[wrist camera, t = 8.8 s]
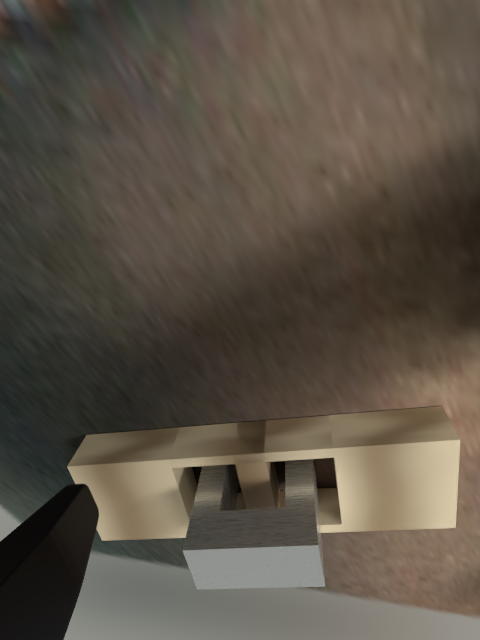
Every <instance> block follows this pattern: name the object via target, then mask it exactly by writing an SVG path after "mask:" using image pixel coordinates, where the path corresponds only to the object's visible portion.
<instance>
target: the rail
mask: <svg viewBox="0 0 480 640" xmlns="http://www.w3.org/2000/svg"><path fill="white" fill-rule="evenodd" d="M459 454H460V438H459V436H458V435H457V433H456V431H455V429H454V427H453V425H452V423H451V421H450V419H449V418H448V416H447V414H446V412H445V410H444V408H443V406H437V407H424V408H412V409H400V410H388V411H375V412H363V413H351V414H338V415H326V416H314V417H301V418H289V419H277V420H264V421H252V422H240V423H227V424H215V425H203V426H190V427H178V428H166V429H154V430H141V431H129V432H117V433H104V434H92V435H86V437H85V438H84V440H83V441H82V443H81V445H80V446H79V448H78V450H77V451H76V453H75V454H74V456H73V458H72V459H71V461H70V463H69V464H68V466H67V467H68V470H69V472H70V474H71V476H72V478H73V480H74V482H75V484H86V485H87V486H88V487H89V489H90V491H91V493H92V496H93V498H94V500H95V502H96V504H97V506H98V510H99V519H98V524H97V528H96V529H97V531H98V533H99V535H100V537H101V539H102V541H106V540H134V539H161V538H186V534H187V530H188V525H189V521H190V517H191V513H192V508H193V504H194V500H195V495H196V491H197V487H198V486H197V482H196V479H195V476H194V472H193V469H192V467H197V466H213V465H228V464H235V466H236V470H237V474H238V478H239V482H240V486H241V490H242V493H238V496H237V504H236V510H245V509H263V508H281V507H285V490H282V491H280V489H279V484H278V479H277V474H276V468H275V463H274V461H290V460H305V459H321V458H334V467H335V476H336V485H337V488H319V489H317V494H318V506H319V518H320V529H321V533H327V532H355V531H382V530H410V529H437V528H456V510H457V492H458V473H459Z"/></svg>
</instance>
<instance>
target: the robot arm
mask: <svg viewBox="0 0 480 640" xmlns="http://www.w3.org/2000/svg"><path fill="white" fill-rule="evenodd" d="M98 519H99V510H98V506H97V504H96V502H95V500H94V498H93V496H92V493H91V491H90V489H89V487H88V486H87V485H86V484H70V485H67V486H66V487H64V488H63V489H62V490H61V491H60V492H59V493H57V494H56V495H55V496H54V497H53V498H51V499H50V500H49V501H48V502H47V503H46V504H44V505H43V506H42V507H41V508H40V509H38V510H37V511H36V512H35V513H34V514H33V515H31V516H30V517H29V518H28V519H27V520H25V521H24V522H23V523H22V524H21V525H20V526H18V527H17V528H16V529H15V530H14V531H12V532H11V533H10V534H9V535H8V536H7V537H5V538H4V539H3V540H2V541H1V542H0V640H63V639H64V637H65V633H66V631H67V628H68V625H69V622H70V619H71V617H72V614H73V611H74V608H75V605H76V602H77V599H78V596H79V593H80V590H81V586H82V583H83V579H84V575H85V571H86V568H87V563H88V559H89V556H90V552H91V548H92V544H93V540H94V536H95V532H96V528H97V524H98Z"/></svg>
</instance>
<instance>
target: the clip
mask: <svg viewBox="0 0 480 640" xmlns="http://www.w3.org/2000/svg"><path fill="white" fill-rule="evenodd" d="M238 488H239V478H238V474H237V470H236V466H235V464H228V465H213V466H202V470H201V474H200V478H199V483H198V487H197V491H196V495H195V500H194V504H193V508H192V513H191V517H190V521H189V525H188V530H187V534H186V538H185V542H184V547H183V553H184V555H185V558H186V561H187V563H188V566H189V569H190V571H191V574H192V576H193V579H194V582H195V584H196V587H197V589H236V588H281V587H325V577H324V565H323V553H322V541H321V529H320V518H319V506H318V494H317V482H316V472H315V466H314V460H313V459H305V460H290V461H285V507H281V508H263V509H245V510H236V504H237V496H238Z"/></svg>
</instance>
